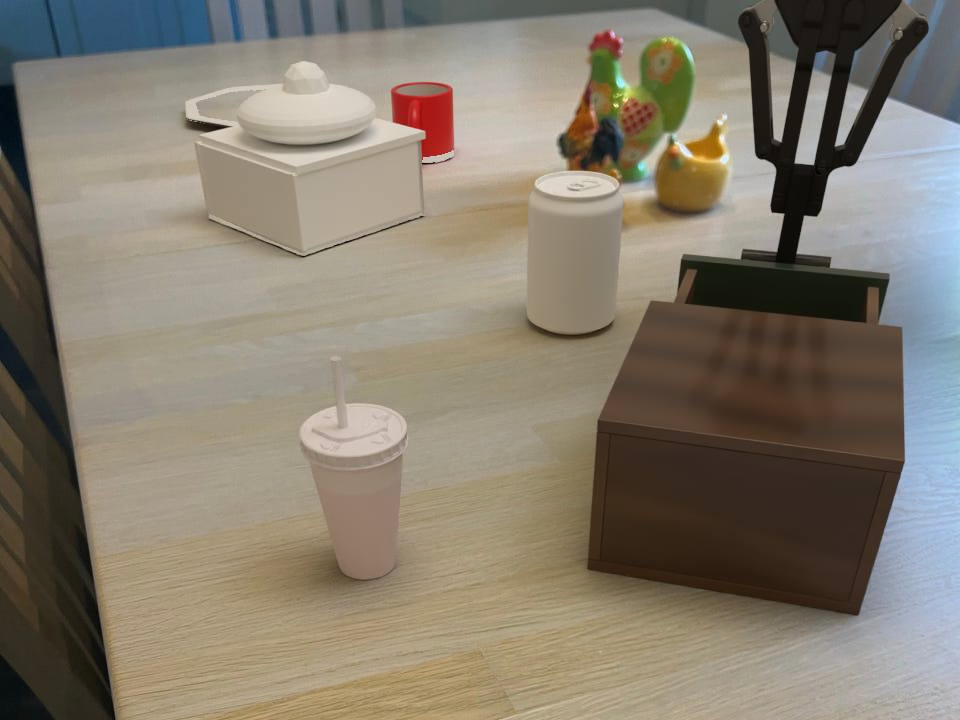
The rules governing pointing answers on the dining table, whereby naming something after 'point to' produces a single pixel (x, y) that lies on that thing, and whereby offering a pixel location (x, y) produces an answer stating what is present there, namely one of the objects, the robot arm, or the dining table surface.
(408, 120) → the mug
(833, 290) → the drawer
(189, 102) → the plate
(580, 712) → the dining table surface
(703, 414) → the cabinet
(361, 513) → the smoothie
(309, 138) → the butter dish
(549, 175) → the beverage can
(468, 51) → the dining table surface
